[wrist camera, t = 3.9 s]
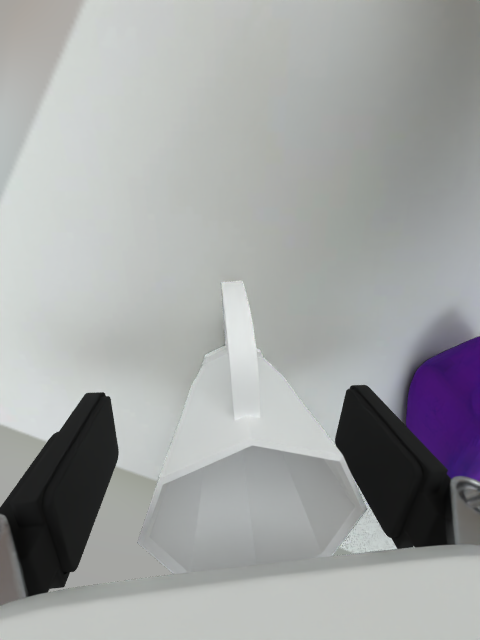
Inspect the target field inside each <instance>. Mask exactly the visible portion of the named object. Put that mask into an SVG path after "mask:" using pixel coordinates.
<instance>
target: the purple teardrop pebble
mask: <svg viewBox="0 0 480 640" xmlns="http://www.w3.org/2000/svg"><path fill="white" fill-rule="evenodd" d="M406 427H407V428H408V429H409V430H410V431H411V432H412V433H413V434H414V435H415V436H416V437H417V438H418V439H419V440H420V441H421V442H422V443H423V444H424V445H425V446H426V447H427V448H428V449H429V451H430V452H431V453H432V454H433V455H434V456H435V457H436V458H437V459H438V460H439V461H440V462H441V463H442V464H443V465H444V466H445V467H446V468H447V469H448V471H447V475H448V476H449V477H450V478H451V479H452V478H454V477H457V476H465V477H470V478H473V479H476V480H478V481H480V337H476V338H474V339H471V340H469V341H467V342H464V343H462V344H460V345H458V346H455V347H453V348H451V349H449V350H447V351H444V352H442V353H440V354H438V355H436V356H434V357H432V358H430V359H428V360H427V361H425V362H424V363H423V364H422V365H421V366H420V367H419V368H418V369H417V371H416V372H415V374H414V377H413V379H412V382H411V384H410V388H409V393H408V402H407V414H406Z"/></svg>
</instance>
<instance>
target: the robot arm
mask: <svg viewBox="0 0 480 640" xmlns="http://www.w3.org/2000/svg"><path fill="white" fill-rule="evenodd" d="M335 443H336V447H337V448H338V449H339V451H340V452H341V453H342V455H343V457H344V459H345V461H346V463H347V466H348V468H349V470H350V472H351V474H352V476H353V478H354V479H355V481H356V483H357V485H358V486H359V488H360V490H361V492H362V494H363V495H364V497H365V499H366V501H367V502H368V504H369V506H370V508H371V509H372V511H373V513H374V515H375V517H376V518H377V520H378V522H379V524H380V525H381V527H382V529H383V531H384V532H385V534H386V535H387V536H388V537H391V538H392V540H393V542H394V543H395V545H396V547H397V549H393V550H384V551H375V552H365V553H356V554H347V555H337V556H328V557H319V558H310V559H301V560H292V561H284V562H275V563H266V564H257V565H249V566H240V567H231V568H222V569H214V570H206V571H198V572H189V573H181V574H173V575H164V576H157V577H148V578H140V579H131V580H124V581H117V582H110V583H103V584H96V585H88V586H82V587H75V588H68V589H63V590H58V591H53V592H48V590H49V589H51V588H61V587H64V586H65V584H66V581H67V578H68V576H69V573H70V572H74V571H75V570H76V569H77V567H78V565H79V562H80V560H81V557H82V554H83V552H84V549H85V546H86V543H87V541H88V538H89V535H90V533H91V530H92V527H93V525H94V522H95V519H96V517H97V514H98V511H99V509H100V506H101V503H102V501H103V497H104V495H105V492H106V490H107V487H108V484H109V482H110V479H111V476H112V474H113V471H114V468H115V466H116V463H117V460H118V444H117V438H116V431H115V425H114V418H113V412H112V405H111V399H110V397H109V396H105V393H86V394H85V395H84V397H83V398H82V400H81V401H80V402H79V404H78V405H77V407H76V408H75V410H74V411H73V412H72V414H71V415H70V417H69V418H68V420H67V421H66V422H65V424H64V425H63V427H62V428H61V430H60V431H59V432H56V433H55V434H53V435H52V437H51V438H50V439H49V440H48V442H47V443H46V445H45V446H44V447H43V449H42V450H41V452H40V453H39V455H38V456H37V457H36V459H35V460H34V461H33V463H32V464H31V465H30V467H29V468H28V470H27V471H26V472H25V474H24V475H23V477H22V478H21V479H20V481H19V482H18V484H17V485H16V487H15V488H14V489H13V491H12V492H11V493H10V495H9V496H8V498H7V499H6V500H5V502H4V503H3V504H2V506H1V507H0V640H480V481H478V480H476V479H473V478H470V477H465V476H457V477H454V478H452V479H451V478H450V477H449V476H448V475H447V471H448V469H447V468H446V467H445V466H444V465H443V464H442V463H441V462H440V461H439V460H438V459H437V458H436V457H435V456H434V455H433V454H432V453H431V452H430V451H429V449H428V448H427V447H426V446H425V445H424V444H423V443H422V442H421V441H420V440H419V439H418V438H417V437H416V436H415V435H414V434H413V433H412V432H411V431H410V430H409V429H408V428H407V427H406V425H405V424H404V423H403V422H402V421H401V420H400V419H399V418H398V417H397V416H396V415H395V414H394V413H393V412H392V411H391V410H390V409H389V408H388V407H387V406H386V405H385V404H384V402H383V401H382V400H381V399H380V398H379V397H378V396H377V395H376V394H375V393H374V392H373V391H372V390H371V389H370V388H369V387H368V386H366V385H353V386H351V387H350V389H348V390H347V391H346V395H345V399H344V403H343V408H342V412H341V416H340V420H339V425H338V429H337V433H336V438H335ZM413 546H414V547H415V548H411V547H413ZM402 548H404V549H402Z"/></svg>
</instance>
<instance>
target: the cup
mask: <svg viewBox="0 0 480 640" xmlns="http://www.w3.org/2000/svg"><path fill="white" fill-rule="evenodd" d="M221 291H222V306H223V320H224V333H225V346H223V347H220V348H218V349H216V350H214V351H212V352H210V353H208V354H206V355H205V356H204V359H203V362H202V365H201V368H200V371H199V373H198V375H197V377H196V378H195V380H194V382H193V383H192V386H191V389H190V392H189V394H188V397H187V400H186V403H185V406H184V409H183V412H182V415H181V418H180V421H179V423H178V426H177V429H176V431H175V434H174V436H173V439H172V442H171V444H170V447H169V450H168V453H167V456H166V459H165V461H164V464H163V467H162V470H161V473H160V476H159V479H158V482H157V485H156V488H155V491H154V494H153V497H152V500H151V503H150V506H149V509H148V512H147V515H146V518H145V521H144V524H143V527H142V530H141V533H140V536H139V539H138V542H137V543H138V544H139V545H140V546H141V547H143V548H144V549H145V550H146V551H147V552H148V553H149V554H151V555H152V556H153V557H154V558H155V559H157V560H158V561H159V562H160V563H161V564H162V565H163V566H164V567H166V568H167V569H168V570H169V571H171V573H173V574H181V573H189V572H198V571H206V570H214V569H222V568H231V567H240V566H249V565H257V564H266V563H275V562H284V561H292V560H301V559H310V558H319V557H328V556H333V555H334V553H335V552H336V551H337V549H338V548H339V547H340V545H341V544H342V542H343V541H344V540H345V538H346V537H347V536H348V534H349V533H350V532H351V530H352V529H353V528H354V526H355V525H356V524H357V522H358V521H359V520H360V518H361V517H362V516H363V514H364V513H365V511H366V510H367V508H366V506H365V503H364V501H363V499H362V497H361V494H360V492H359V490H358V488H357V486H356V483H355V481H354V479H353V477H352V474H351V472H350V470H349V468H348V466H347V463H346V461H345V459H344V457H343V455H342V453H341V452H340V451H339V449H338V448H337V447H336V445H335V444H334V443H333V441H332V440H331V439H330V437H329V436H328V435H327V433H326V432H325V431H324V429H323V428H322V427H321V425H320V424H319V423H318V422H317V420H316V419H315V418H314V416H313V415H312V414H311V413H310V411H309V410H308V409H307V408H306V406H305V405H304V404H303V402H302V401H301V400H300V398H299V397H298V396H297V394H296V393H295V391H294V390H293V389H292V387H291V386H290V385H289V383H288V382H287V381H286V379H285V378H284V376H283V375H282V374H281V373H280V372H279V371H278V370H277V369H275V368H274V367H273V366H272V365H271V364H270V363H269V362H268V361H267V360H266V359H265V358H264V356H263V354H262V352H261V350H260V349H256V342H255V335H254V329H253V322H252V316H251V311H250V306H249V302H248V298H247V294H246V290H245V288H244V285H243V282H242V281H230V282H221Z"/></svg>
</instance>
